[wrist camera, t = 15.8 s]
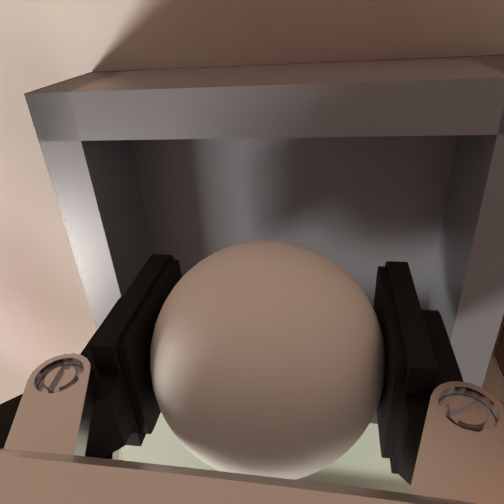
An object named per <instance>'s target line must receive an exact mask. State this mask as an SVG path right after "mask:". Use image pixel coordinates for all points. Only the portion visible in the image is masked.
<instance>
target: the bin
mask: <svg viewBox="0 0 504 504" xmlns="http://www.w3.org/2000/svg"><path fill="white" fill-rule="evenodd" d="M24 95H25V98H26V101H27V104H28V108H29V111H30V114H31V117H32V121H33V124H34V127H35V130H36V134H37V137H38V140H39V143H40V147H41V150H42V153H43V156H44V159H45V163H46V166H47V169H48V172H49V176H50V179H51V182H52V185H53V189H54V192H55V195H56V198H57V202H58V205H59V208H60V211H61V215H62V218H63V221H64V224H65V228H66V231H67V234H68V237H69V241H70V244H71V247H72V250H73V254H74V257H75V260H76V263H77V267H78V270H79V273H80V276H81V280H82V283H83V286H84V289H85V293H86V296H87V299H88V302H89V306H90V309H91V312H92V315H93V318H94V322H95V325H96V328H97V330H98V328H99V327H100V325H101V324H102V322H103V321H104V319H105V318H106V317H107V315H108V314H109V312H110V311H111V309H112V308H113V306H114V305H115V304H116V302H117V301H118V299H119V298H120V297H122V296H124V294H125V293H126V291H127V290H128V288H129V287H130V285H131V284H132V282H133V281H134V280H135V278H136V277H137V275H138V274H139V272H140V271H141V269H142V268H143V266H144V265H145V263H146V262H147V261H148V259H149V258H150V256H151V255H152V254H164V255H172V256H173V258H174V260H178V261H179V263H180V269H181V275H182V277H183V276H184V275H185V274H186V273H187V272H188V271H189V270H190V269H191V268H193V267H194V266H195V265H196V264H197V263H199V262H200V261H202V260H203V259H205V258H207V257H208V256H210V255H212V254H213V253H215V252H217V251H219V250H222V249H224V248H226V247H229V246H232V245H236V244H239V243H244V242H250V241H257V240H276V241H285V242H290V243H295V244H298V245H302V246H305V247H308V248H310V249H312V250H314V251H317V252H319V253H321V254H322V255H324V256H326V257H327V258H329V259H331V260H332V261H334V262H335V263H337V264H338V265H339V266H340V267H342V268H343V269H344V270H345V271H346V272H347V273H348V274H349V275H350V276H351V277H352V278H353V279H354V280H355V281H356V282H357V284H358V285H359V286H360V287H361V289H362V290H363V291H364V293H365V294H366V296H367V297H368V299H369V301H370V303H371V305H372V307H374V297H375V288H376V278H377V269H378V266H385V263H386V261H395V262H408V265H409V268H410V272H411V275H412V279H413V282H414V286H415V289H416V293H417V296H418V299H419V303H420V306H421V310H438V311H439V312H440V314H441V317H442V319H443V322H444V325H445V328H446V331H447V334H448V337H449V340H450V343H451V346H452V349H453V352H454V354H455V357H456V360H457V363H458V366H459V369H460V372H461V375H462V378H463V381H464V382H467V383H472V384H474V385H477V386H479V387H482V386H483V382H484V379H485V376H486V372H487V369H488V366H489V362H490V359H491V355H492V352H493V349H494V345H495V342H496V339H497V335H498V332H499V328H500V325H501V322H502V318H503V315H504V55H489V56H465V57H442V58H418V59H394V60H371V61H347V62H323V63H299V64H276V65H252V66H228V67H205V68H181V69H157V70H133V71H110V72H90V73H87V74H84V75H81V76H77V77H74V78H71V79H68V80H65V81H62V82H59V83H56V84H53V85H50V86H46V87H43V88H40V89H37V90H34V91H31V92H28V93H25V94H24Z"/></svg>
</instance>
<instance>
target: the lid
mask: <svg viewBox="0 0 504 504" xmlns="http://www.w3.org/2000/svg"><path fill="white" fill-rule="evenodd" d="M120 451H121V454H122V457H123V460H124V461H133V462H142V463H151V464H160V465H169V466H178V467H187V468H196V469H205V470H214V471H218V470H216V469H214V468H212V467H210V466H209V465H207V464H205V463H204V462H202V461H201V460H199V459H198V458H197V457H195V456H194V455H193V454H192V453H191V452H190V451H189V450H188V449H187V448H186V447H185V446H184V445H183V444H182V443H181V442H180V441H179V439H178V438H177V437H176V436H175V435H174V433H173V432H172V430H171V429H170V427H169V425H168V424H167V422H166V420H165V419H164V417H163V415H162V413H160V415H159V418H158V420H157V423H156V425H155V428H154V430H153V432H152V433H151V434H146V436H145V438H144V441H143V443H142V445H141V447H140V446H131V445H125V446H124V447H122V448H120ZM296 480H301V481H309V482H318V483H326V484H334V485H343V486H351V487H360V488H368V489H377V490H385V491H392V492H400V493H407V494H409V491H410V486H411V485H410V484H408V483H407V482H406V481H405V480H404V479H403V478H402V477H401V476H400V475H399V474H393V473H391V465H390V459H389V458H382V456H381V449H380V440H379V431H378V422H377V412H376V411H375V414H374V416H373V418H372V420H371V421H370V423H369V425H368V427H367V428H366V430H365V431H364V433H363V434H362V436H361V437H360V438H359V439H358V441H357V442H356V443H355V444H354V445H353V446H352V447H351V448H350V449H349V450H348V451H347V452H346V453H345V454H344V455H343V456H341V457H340V458H339V459H337V460H336V461H335V462H333V463H332V464H331V465H329V466H327V467H326V468H324V469H322V470H320V471H317V472H315V473H313V474H310V475H308V476H306V477H303V478H299V479H296Z"/></svg>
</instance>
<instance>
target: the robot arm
mask: <svg viewBox="0 0 504 504" xmlns="http://www.w3.org/2000/svg"><path fill="white" fill-rule="evenodd" d="M181 278H182V275H181V269H180V263H179V261H178V260H174V258H173V256H172V255H164V254H152V255H151V256H150V258H149V259H148V261H147V262H146V263H145V265H144V266H143V268H142V269H141V271H140V272H139V274H138V275H137V277H136V278H135V280H134V281H133V282H132V284H131V285H130V287H129V288H128V290H127V291H126V293H125V294H124V296H122V297H120V298H119V299H118V301H117V302H116V304H115V305H114V306H113V308H112V309H111V311H110V312H109V314H108V315H107V317H106V318H105V319H104V321H103V322H102V324H101V325H100V327H99V328H98V330H97V331H96V332H95V334H94V335H93V337H92V338H91V340H90V341H89V343H88V344H87V345H86V347H85V348H84V350H83V351H82V353H81V354H80V355H79V354H74V353H73V354H63V355H59V356H56V357H53V358H51V359H49V360H47V361H45V362H44V363H42V364H41V365H39V366H38V367H37V368H36V369H35V370H34V371H33V372H32V374H31V375H30V377H29V379H28V381H27V384H26V387H25V390H24V392H23V394H21V395H19V396H17V397H15V398H13V399H11V400H9V401H7V402H4V403H2V404H0V504H504V407H503V405H502V403H501V402H500V401H499V400H498V399H497V398H496V397H495V396H494V395H493V394H491V393H490V392H488V391H487V390H485V389H484V388H482V387H479V386H477V385H474V384H472V383H467V382H464V381H463V378H462V375H461V372H460V369H459V366H458V363H457V360H456V357H455V354H454V352H453V349H452V346H451V343H450V340H449V337H448V334H447V331H446V328H445V325H444V322H443V319H442V317H441V314H440V312H439V311H438V310H421V306H420V303H419V299H418V296H417V293H416V289H415V286H414V282H413V279H412V275H411V272H410V268H409V265H408V262H395V261H386V263H385V266H378V269H377V278H376V288H375V297H374V307H373V309H374V311H375V313H376V315H377V318H378V321H379V324H380V327H381V331H382V335H383V339H384V350H385V375H384V386H383V390H382V394H381V398H380V401H379V404H378V407H377V409H376V412H377V422H378V431H379V440H380V449H381V456H382V458H389V459H390V465H391V473H393V474H399V475H400V476H401V477H402V478H403V479H404V480H405V481H406V482H407V483H408V484H410V485H411V486H410V491H409V494H407V493H400V492H392V491H385V490H377V489H368V488H360V487H351V486H343V485H334V484H326V483H318V482H309V481H301V480H292V479H284V478H275V477H267V476H258V475H249V474H240V473H232V472H223V471H214V470H205V469H196V468H187V467H178V466H169V465H160V464H151V463H142V462H133V461H123V460H118V459H119V449H120V448H122V447H124V446H125V445H131V446H140V447H141V445H142V443H143V441H144V438H145V436H146V434H151V433H152V432H153V430H154V428H155V425H156V423H157V420H158V418H159V415H160V413H161V411H160V408H159V405H158V402H157V399H156V396H155V393H154V390H153V384H152V378H151V371H150V351H151V342H152V337H153V332H154V328H155V323H156V321H157V318H158V316H159V313H160V311H161V309H162V306H163V304H164V302H165V300H166V299H167V297H168V296H169V294H170V292H171V291H172V289H173V288H174V286H175V285H176V284H177V283H178V282H179V280H180V279H181Z"/></svg>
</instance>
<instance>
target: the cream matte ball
mask: <svg viewBox="0 0 504 504" xmlns="http://www.w3.org/2000/svg"><path fill="white" fill-rule="evenodd" d="M150 371H151V378H152V384H153V390H154V393H155V396H156V399H157V402H158V405H159V408H160V411H161V413H162V415H163V417H164V419H165V420H166V422H167V424H168V425H169V427H170V429H171V430H172V432H173V433H174V435H175V436H176V437H177V438H178V439H179V441H180V442H181V443H182V444H183V445H184V446H185V447H186V448H187V449H188V450H189V451H190V452H191V453H192V454H193V455H194V456H195V457H197V458H198V459H199V460H201V461H202V462H204V463H205V464H207V465H209V466H210V467H212V468H214V469H216V470H218V471H223V472H232V473H240V474H249V475H258V476H267V477H275V478H284V479H292V480H296V479H299V478H303V477H306V476H308V475H310V474H313V473H315V472H317V471H320V470H322V469H324V468H326V467H327V466H329V465H331V464H332V463H333V462H335V461H336V460H337V459H339V458H340V457H341V456H343V455H344V454H345V453H346V452H347V451H348V450H349V449H350V448H351V447H352V446H353V445H354V444H355V443H356V442H357V441H358V439H359V438H360V437H361V436H362V434H363V433H364V431H365V430H366V428H367V427H368V425H369V423H370V421H371V420H372V418H373V416H374V414H375V411H376V409H377V407H378V404H379V401H380V398H381V394H382V390H383V386H384V375H385V350H384V339H383V335H382V331H381V327H380V324H379V321H378V318H377V315H376V313H375V311H374V309H373V307H372V305H371V303H370V301H369V299H368V297H367V296H366V294H365V293H364V291H363V290H362V289H361V287H360V286H359V285H358V284H357V282H356V281H355V280H354V279H353V278H352V277H351V276H350V275H349V274H348V273H347V272H346V271H345V270H344V269H343V268H342V267H340V266H339V265H338V264H337V263H335V262H334V261H332V260H331V259H329V258H327V257H326V256H324V255H322V254H321V253H319V252H317V251H314V250H312V249H310V248H308V247H305V246H302V245H298V244H295V243H290V242H285V241H276V240H257V241H250V242H244V243H239V244H236V245H232V246H229V247H226V248H224V249H222V250H219V251H217V252H215V253H213V254H212V255H210V256H208V257H207V258H205V259H203V260H202V261H200V262H199V263H197V264H196V265H195V266H194V267H193V268H191V269H190V270H189V271H188V272H187V273H186V274H185V275H184V276H183V277H182V278H181V279H180V280H179V282H178V283H177V284H176V285H175V286H174V288H173V289H172V291H171V292H170V294H169V296H168V297H167V299H166V300H165V302H164V304H163V306H162V309H161V311H160V313H159V316H158V318H157V321H156V323H155V328H154V332H153V337H152V342H151V351H150Z"/></svg>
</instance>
